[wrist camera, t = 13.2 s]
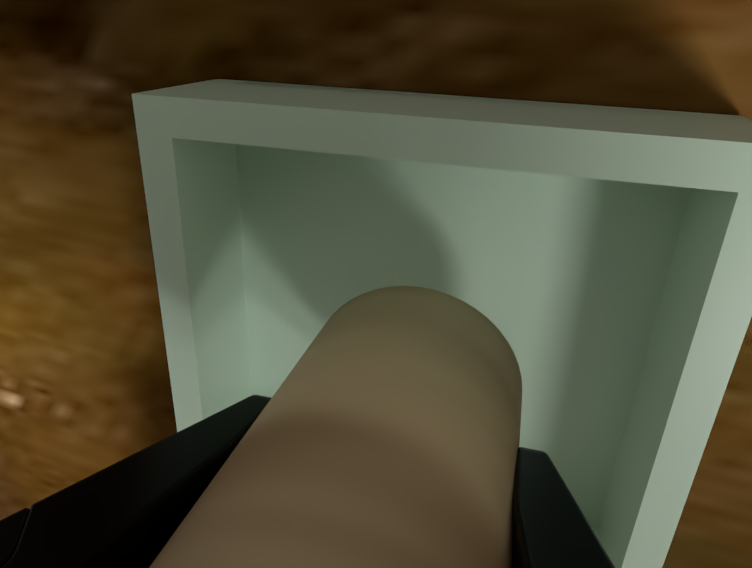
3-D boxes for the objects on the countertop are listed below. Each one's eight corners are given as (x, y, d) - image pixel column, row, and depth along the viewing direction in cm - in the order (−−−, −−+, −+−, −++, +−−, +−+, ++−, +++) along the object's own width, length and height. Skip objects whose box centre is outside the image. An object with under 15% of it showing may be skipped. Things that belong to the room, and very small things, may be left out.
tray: (617, 533, 13) (634, 645, 10) (245, 451, 15) (190, 530, 12) (742, 115, 9) (810, 147, 7) (217, 78, 11) (131, 93, 9)
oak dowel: (506, 485, 10) (450, 1197, 4) (314, 444, 11) (20, 988, 5) (538, 303, 9) (526, 1001, 2) (312, 271, 9) (-124, 742, 3)
